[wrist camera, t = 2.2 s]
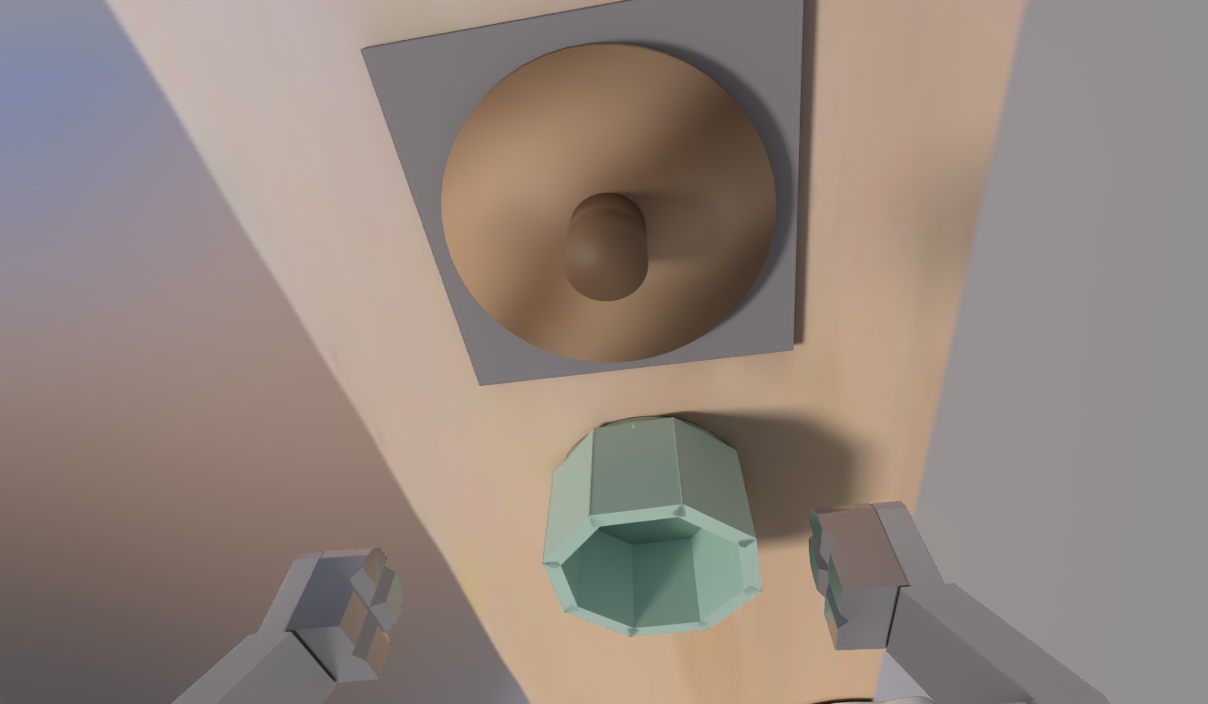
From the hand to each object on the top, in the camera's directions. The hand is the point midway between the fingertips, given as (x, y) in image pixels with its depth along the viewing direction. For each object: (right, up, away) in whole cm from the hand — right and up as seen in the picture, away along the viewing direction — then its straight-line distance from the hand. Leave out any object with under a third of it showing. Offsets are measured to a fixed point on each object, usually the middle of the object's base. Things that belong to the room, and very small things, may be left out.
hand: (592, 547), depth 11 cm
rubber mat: (0, +9, +13) cm, 16 cm away
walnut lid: (0, +9, +13) cm, 16 cm away
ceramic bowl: (+3, -4, +22) cm, 23 cm away
